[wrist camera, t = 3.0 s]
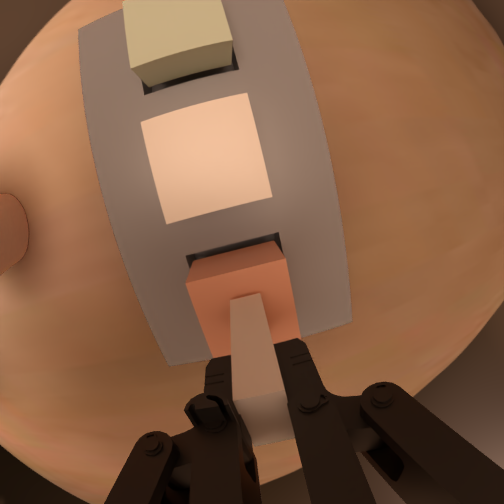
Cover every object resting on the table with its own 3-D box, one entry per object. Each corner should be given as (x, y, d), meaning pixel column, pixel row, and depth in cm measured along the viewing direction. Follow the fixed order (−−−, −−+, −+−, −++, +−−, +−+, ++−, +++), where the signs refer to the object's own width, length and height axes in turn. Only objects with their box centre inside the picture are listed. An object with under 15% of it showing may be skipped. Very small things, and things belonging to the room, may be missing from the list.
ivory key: (178, 212, 16) (166, 224, 12) (158, 131, 14) (140, 122, 11) (262, 191, 16) (272, 196, 12) (242, 108, 14) (247, 92, 11)
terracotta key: (216, 329, 18) (214, 361, 15) (193, 260, 17) (185, 283, 13) (288, 311, 18) (301, 340, 15) (273, 240, 17) (285, 258, 13)
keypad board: (174, 344, 22) (168, 366, 19) (94, 43, 14) (78, 29, 11) (338, 303, 22) (352, 321, 19) (267, -4, 14) (272, -24, 11)
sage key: (149, 87, 13) (130, 68, 10) (138, 26, 12) (122, 1, 8) (231, 64, 13) (232, 39, 10) (214, 5, 12) (213, -25, 9)
